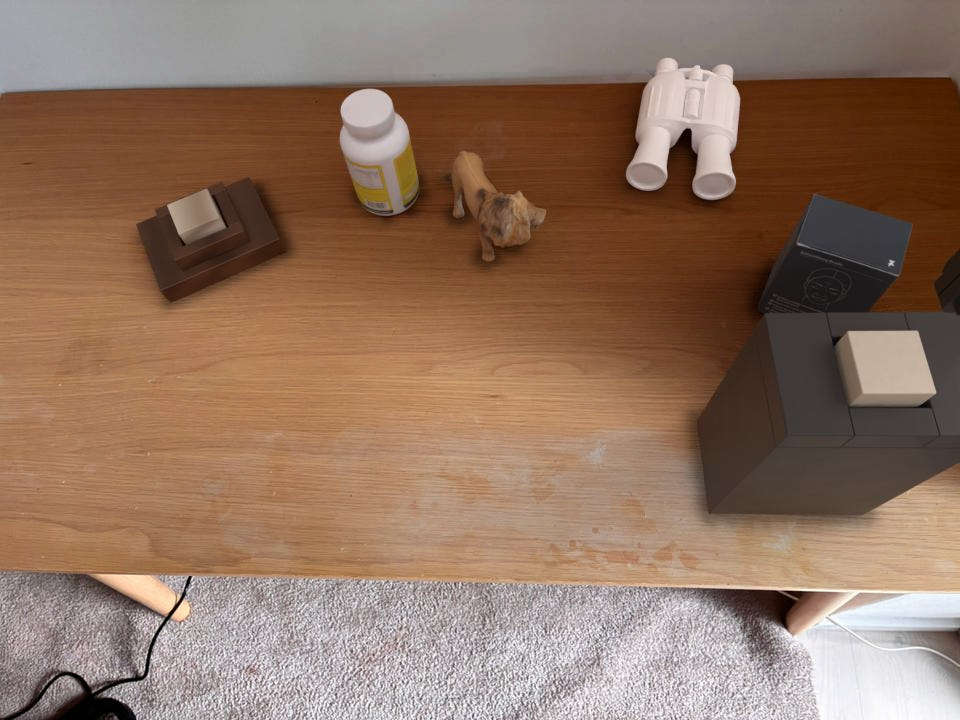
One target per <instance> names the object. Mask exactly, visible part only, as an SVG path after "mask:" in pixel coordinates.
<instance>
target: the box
mask: <svg viewBox="0 0 960 720" xmlns="http://www.w3.org/2000/svg"><path fill="white" fill-rule="evenodd" d="M913 225H914V223H912V222H908V221H907V220H906V221H905V220H902V219H899V218H896V217H892V216H889V215H886V214H883V213H878V212H876V211H873V210H870V209H866V208H863V207H860V206H857V205H853V204H849V203H846V202H843V201H840V200H836V199H833V198H830V197H827V196H823V195H820V194H818V193H813V195H812V196H811V198H810V199H809V201H808V204H807V205H806V207H805V209H804V211H803V212H802V214H801V215H800V217H799V219H798V221H797V223H796V225H795V226H794V228H793V230H792V232H791V233H790V235H789V237H788V239H787V240H786V242H785V244H784V246H783V248H782V249H781V251H780V253H779V254H778V256H777V258H776V260H775V261H774V263H773V265H772V268H771V271H770V273H769V276H768V279H767V281H766V283H765V287H764V290H763V291H762V294H761V297H760V300H759V303H758V304H757V308H756V311H757V312H758V313H761V314H763V315H764V314H765V313H845V312H870V311H871V309H873V307H874V306H875V305H876V303H878V301H879V300H880V299H881V298H882V297H883V295H885V293H886V292H887V291H888V290H889V288H890V287H891V286H892V285H893V284H894V283H895V282H896V280H897V279H898V278H899V277H900V275H901V274H902V273H901V272H902V269H903V264H904V261H905V257H906V253H907V249H908V245H909V241H910V238H911V233H912V230H913Z"/></svg>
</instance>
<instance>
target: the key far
mask: <svg viewBox="0 0 960 720" xmlns="http://www.w3.org/2000/svg"><path fill="white" fill-rule="evenodd" d="M203 189H204V190H203ZM203 189H201V190H202V191H200V190H198V191H199V192H198V191H196V192H197V193H195V192H194V193H195V194H193V193H191V194H192V195H191V194H189V195H190V196H188V195H186V196H187V197H186V196H184V197H185V198H183V197H182V198H183V199H181V198H179V199H180V200H178V199H177V200H178V201H176V200H174V201H175V202H174V201H172V202H173V203H171V202H169V203H170V204H169V203H167V204H168V205H167V207H168V209H169V212H170V214H171V217H172V219H173V222H174V224H175V227H176V229H177V232H178V234H179V236H180V237H181V238H182V240H183V241H184V243H185V244H186V245H188V244H190V243H192V242H195V241H197V240H199V239H202V238H204V237H206V236H209V235H211V234H213V233H216V232H218V231H220V230H223V229H225V228H226V226H225V224H224V221H223V219H222V217H221V215H220V212H219V210H218V208H217V206H216V203H215V201H214V199H213V198H212V196H211V194H210V193H209V191H208V189H205V188H203Z"/></svg>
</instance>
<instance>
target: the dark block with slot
mask: <svg viewBox="0 0 960 720" xmlns="http://www.w3.org/2000/svg"><path fill="white" fill-rule="evenodd" d="M847 331H918V333H919V336H920V340H921V343H922V346H923V350H924V353H925V356H926V360H927V363H928V366H929V370H930V373H931V376H932V380H933V383H934V386H935V390H936V394H935V395H933V396H932V397H931V398H929V399H928V400H927V401H925V402H924V403H923V404H921V405H920V406H919V407H847V402H846V398H845V394H844V390H843V385H842V381H841V377H840V373H839V368H838V364H837V360H836V356H835V351H834V346H835V345H836V344H837V342H838V341H839V340H840V339H841V338H842V337H843V336H844V335H845V333H846V332H847ZM696 424H697V432H698V440H699V441H698V442H699V447H700V448H699V449H700V456H701V464H702V473H703V479H704V488H705V494H706V503H707V511H708V513H709V514H710V515H800V516H801V515H805V516H806V515H807V516H808V515H811V516H815V515H817V516H819V515H820V516H826V515H827V516H864V515H866V514H868V513H870V512H871V511H873V510H875V509H877V508H879V507H880V506H882V505H884V504H886V503H888V502H890V501H891V500H893V499H895V498H897V497H899V496H901V495H902V494H905V493H907V492H908V491H909V490H912V489H914V488H915V487H918V486H919V485H921V484H923V483H925V482H926V481H928V480H930V479H933V478H934V477H935V476H938V475H939V474H941V473H943V472H945V471H947V470H948V469H951V468H952V467H954V466H956V465H958V464H959V463H960V315H956V313H946V312H943V311H883V312H882V311H868V312H845V313H765V314H763V315H762V316H761V318H760V320H759V321H758V323H757V325H756V326H755V327H754V329H753V330H752V332H751V333H750V336H749V337H748V338H747V340H746V342H745V343H744V345H743V346H742V347H741V349H740V351H739V353H738V354H737V356H736V358H735V359H734V361H733V362H732V363H731V366H730V368H729V369H728V370H727V372H726V373H725V375H724V377H723V378H722V380H721V381H720V383H719V385H718V386H717V388H716V390H715V391H714V393H713V394H712V396H711V397H710V399H709V401H708V402H707V404H706V405H705V407H704V409H703V410H702V412H701V413H700V415H698V418H697V420H696Z"/></svg>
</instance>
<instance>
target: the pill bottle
mask: <svg viewBox="0 0 960 720" xmlns="http://www.w3.org/2000/svg"><path fill="white" fill-rule="evenodd" d="M340 116H341V119H342V120H341V121H342V124H343V125H342V127H341V130H340V131H339V132H340V133H339V145H340V149H341V152H342V155H343V157H344V160H345V164H346V167H347V170H348V173H349V176H350V178H351V181H352V184H353V187H354V191H355V194H356V197H357V199H358V201H359V203H360V205H361V207H363V208H364V209H365V210H367V211H368V212H369V213H371V214H373V215H377V216H383V217H388V216H394V215H399V214H401V213H403V212H405V211H407V210H408V209H409V208H411V207H412V206H413V205H414V204H415V203H416V202H417V199H418V197H419V194H420V180H419V175H418V171H417V170H418V169H417V165H416V160H415V156H414V151H413V146H412V140H411V135H410V131H409V127H408V125H407V123H406V121H405V119H403V117H402V116H400V114H398V113H397V112H396V111H395V107H394V104H393V100H392V99H391V97H390V96H389V95H388V94H387V93H386V92H384V91H382V90H380V89H376V88H363V89H360V90H356V91H354V92H352V93H351V94H349V95H348V96H347V97H345V99H344V100H343V101H342V103H341V106H340Z"/></svg>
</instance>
